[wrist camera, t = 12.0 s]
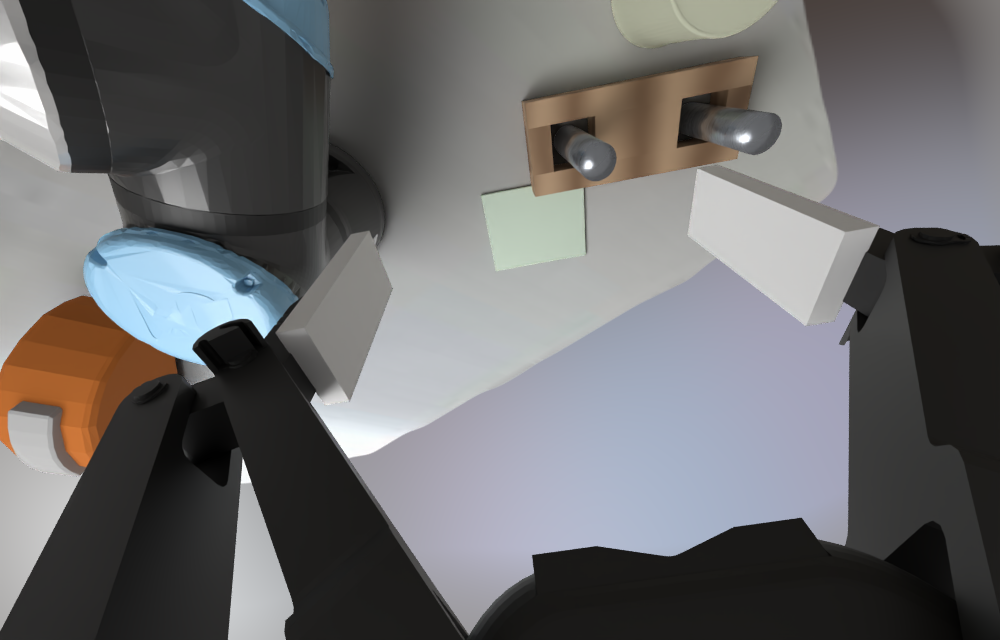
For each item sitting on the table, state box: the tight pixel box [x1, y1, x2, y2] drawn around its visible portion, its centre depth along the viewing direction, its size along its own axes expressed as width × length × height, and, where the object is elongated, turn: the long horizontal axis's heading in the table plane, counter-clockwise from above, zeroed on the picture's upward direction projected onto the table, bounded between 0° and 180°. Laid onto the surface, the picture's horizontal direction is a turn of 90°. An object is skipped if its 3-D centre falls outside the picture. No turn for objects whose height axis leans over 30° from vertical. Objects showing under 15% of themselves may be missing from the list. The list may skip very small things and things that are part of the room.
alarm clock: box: [0, 296, 178, 476], centre depth 45 cm, size 23×9×17 cm, turn 159°
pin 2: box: [678, 102, 782, 155], centre depth 33 cm, size 3×3×12 cm
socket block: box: [522, 56, 758, 197], centre depth 37 cm, size 22×9×3 cm, turn 100°
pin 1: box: [554, 125, 617, 181], centre depth 34 cm, size 3×3×12 cm
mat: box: [481, 186, 586, 271], centre depth 44 cm, size 12×10×1 cm
